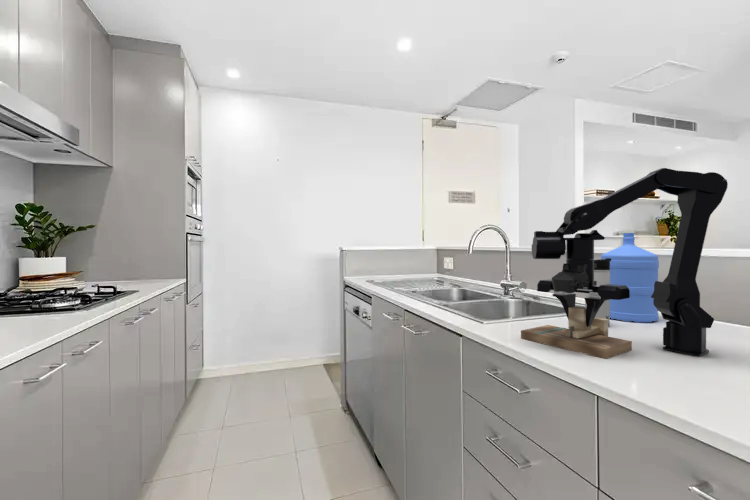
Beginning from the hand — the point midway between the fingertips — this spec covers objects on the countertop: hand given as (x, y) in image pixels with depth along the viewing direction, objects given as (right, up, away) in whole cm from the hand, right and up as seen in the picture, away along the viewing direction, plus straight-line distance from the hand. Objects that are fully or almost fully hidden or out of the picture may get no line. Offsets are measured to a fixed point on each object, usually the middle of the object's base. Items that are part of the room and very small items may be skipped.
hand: (579, 325), depth 85 cm
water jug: (+35, -5, +33) cm, 48 cm away
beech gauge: (+2, -4, +1) cm, 5 cm away
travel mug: (+18, -5, +22) cm, 29 cm away
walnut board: (-1, -5, +1) cm, 5 cm away
